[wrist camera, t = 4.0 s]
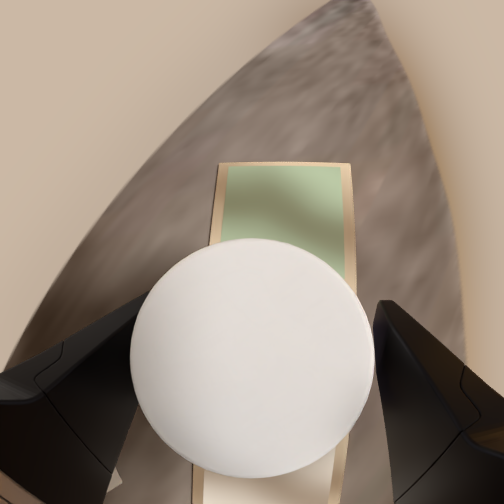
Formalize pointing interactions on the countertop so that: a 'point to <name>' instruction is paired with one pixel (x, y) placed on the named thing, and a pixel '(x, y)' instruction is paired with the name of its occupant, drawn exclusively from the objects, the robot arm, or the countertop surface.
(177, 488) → the countertop surface
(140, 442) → the countertop surface
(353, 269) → the game board
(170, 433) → the pill bottle
